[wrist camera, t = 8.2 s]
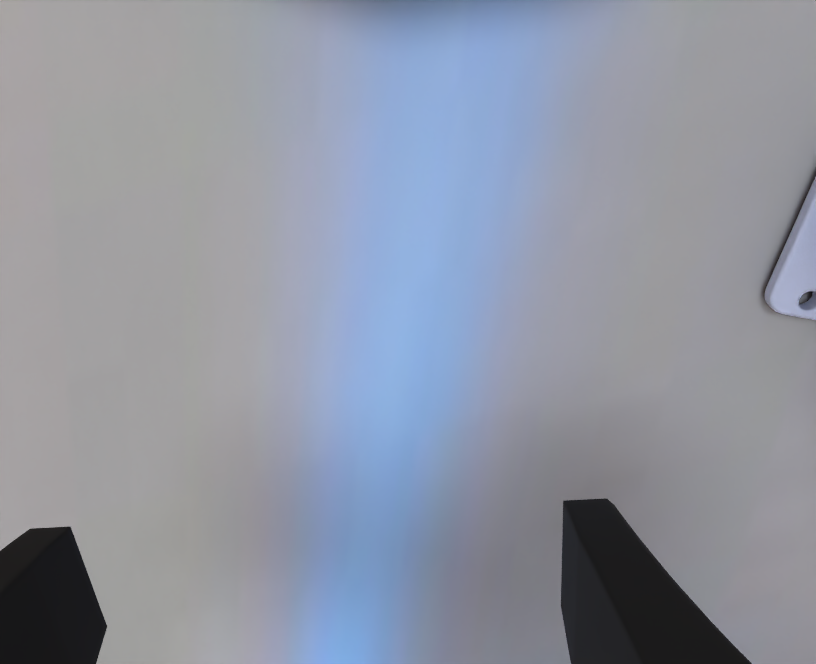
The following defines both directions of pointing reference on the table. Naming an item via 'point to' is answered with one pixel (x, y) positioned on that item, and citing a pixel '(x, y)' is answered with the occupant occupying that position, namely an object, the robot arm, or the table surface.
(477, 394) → the table surface
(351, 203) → the table surface
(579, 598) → the robot arm
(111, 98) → the table surface
